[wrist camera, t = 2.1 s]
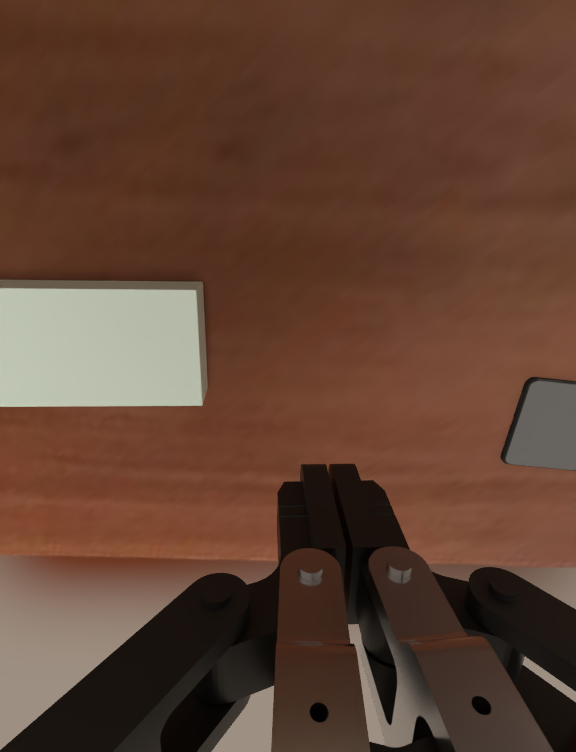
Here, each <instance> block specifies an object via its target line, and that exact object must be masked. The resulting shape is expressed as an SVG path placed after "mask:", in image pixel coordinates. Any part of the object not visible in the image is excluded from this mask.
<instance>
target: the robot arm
mask: <svg viewBox="0 0 576 752" xmlns="http://www.w3.org/2000/svg"><path fill="white" fill-rule="evenodd" d="M277 542H278V567H277V569H276V570H275V571H274V572H273V573H272V574H271V575H269V576H268V577H267V578H265V579H263V580H261V581H258V582H255V583H252V584H249V585H246V584H245V582H243V580H241V579H240V578H238V577H237V576H235V575H232V574H227V573H215V574H210V575H207V576H204V577H202V578H200V579H198V580H197V581H195V582H194V583H193V584H192V585H190V586H189V587H188V588H187V589H186V590H185V591H184V592H183V593H181V594H180V595H179V596H178V597H177V598H175V599H174V600H173V601H172V602H171V603H170V604H169V605H167V606H166V607H165V608H164V609H163V610H162V611H161V612H159V613H158V614H157V615H156V616H155V617H154V618H152V619H151V620H150V621H149V622H148V623H147V624H146V625H144V626H143V627H142V628H141V629H140V630H139V631H137V632H136V633H135V634H134V635H133V636H132V637H130V638H129V639H128V640H127V641H126V642H125V643H124V644H123V645H121V646H120V647H119V648H118V649H117V650H116V651H114V652H113V653H112V654H111V655H110V656H109V657H107V658H106V659H105V660H104V661H103V662H102V663H100V664H99V665H98V666H97V667H96V668H95V669H94V670H93V671H91V672H90V673H89V674H88V675H87V676H85V677H84V678H83V679H82V680H81V681H80V682H79V683H77V684H76V685H75V686H74V687H73V688H72V689H71V690H69V691H68V692H67V693H66V694H65V695H63V697H61V698H60V699H59V700H58V701H57V702H55V703H54V704H53V705H52V706H51V707H50V708H48V709H47V710H46V711H45V712H44V713H43V714H42V715H41V716H39V717H38V718H37V719H36V720H35V721H33V722H32V723H31V724H30V725H29V726H28V727H27V728H26V729H24V730H23V731H22V732H21V733H20V734H18V735H17V736H16V737H15V738H14V739H13V740H12V741H11V742H9V743H8V744H7V745H6V746H5V747H3V748H2V749H1V750H0V752H211V751H212V750H213V749H214V747H215V746H216V745H217V743H218V742H219V741H220V739H221V738H222V737H223V735H224V734H225V733H226V731H227V730H228V729H229V727H230V726H231V725H232V723H233V722H234V721H235V719H236V718H237V717H238V716H239V714H240V713H241V711H242V710H243V709H244V708H245V706H246V705H247V703H248V701H249V698H250V695H251V694H254V693H256V692H259V691H261V690H264V689H266V688H268V687H271V686H273V685H274V703H273V727H272V749H271V752H576V702H574V701H573V700H571V699H570V698H569V697H567V696H566V695H564V694H563V693H562V692H560V691H559V690H557V689H556V688H555V687H553V686H552V685H550V684H549V683H548V682H546V681H545V680H543V679H542V678H541V677H539V676H538V675H536V674H535V673H534V672H532V671H531V670H529V669H528V668H527V667H525V666H524V665H522V664H523V660H524V657H525V656H526V657H527V658H529V659H530V660H531V661H533V662H534V663H536V664H537V665H539V666H540V667H542V668H543V669H544V670H546V671H547V672H549V673H550V674H551V675H553V676H554V677H556V678H557V679H559V680H560V681H562V682H563V683H564V684H566V685H567V686H569V687H570V688H572V689H573V690H574V691H576V609H574V608H572V607H570V606H569V605H567V604H565V603H564V602H562V601H560V600H558V599H557V598H555V597H553V596H552V595H550V594H548V593H546V592H545V591H543V590H541V589H540V588H538V587H536V586H534V585H533V584H531V583H529V582H528V581H526V580H524V579H522V578H520V577H519V576H517V575H515V574H513V573H511V572H509V571H506V570H503V569H500V568H495V567H484V568H480V569H477V570H475V571H474V572H473V573H472V574H471V575H470V578H469V582H467V581H462V580H458V579H454V578H449V577H445V576H442V575H439V574H436V573H434V572H432V571H431V570H430V568H429V566H428V565H427V563H426V562H425V560H424V559H423V558H422V557H420V556H419V555H418V554H416V553H415V552H413V551H411V550H410V549H409V546H408V544H407V542H406V539H405V537H404V535H403V532H402V530H401V528H400V525H399V523H398V521H397V519H396V516H395V515H394V512H393V509H392V507H391V505H390V502H389V500H388V498H387V495H386V493H385V491H384V490H383V489H382V488H381V487H380V486H379V485H378V484H377V483H375V482H374V481H373V480H368V481H361V479H360V477H359V474H358V471H357V468H356V466H355V464H330V465H329V472H328V471H327V467H326V464H302V465H301V471H300V482H284V483H283V485H282V486H281V488H280V490H279V491H278V509H277ZM348 624H359V627H360V632H361V641H360V656H361V660H362V663H363V667H364V670H365V674H366V677H367V680H368V684H369V688H370V691H371V694H372V698H373V701H374V705H375V708H376V712H377V715H378V719H379V722H380V725H381V729H382V732H383V736H384V741H385V746H384V745H380V744H376V743H372V742H369V738H368V731H367V724H366V717H365V709H364V702H363V695H362V687H361V680H360V674H359V665H358V658H357V652H356V648H355V645H354V644H351V643H350V638H349V630H348Z"/></svg>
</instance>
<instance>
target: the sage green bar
mask: <svg viewBox="0 0 576 752" xmlns="http://www.w3.org/2000/svg"><path fill="white" fill-rule="evenodd" d="M207 389H208V378H207V357H206V336H205V315H204V294H203V282H184V281H85V280H0V407H31V406H202V405H203V402H204V398H205V395H206V392H207Z"/></svg>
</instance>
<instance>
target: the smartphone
mask: <svg viewBox="0 0 576 752" xmlns="http://www.w3.org/2000/svg"><path fill="white" fill-rule="evenodd" d="M514 417H515V419H514V422H513V425H511V426H510V429H509V432H508V436H507V438H508V439H506V440H507V441H506V443H505V444H506V445H504V446H505V447H503V450H502V453H501V459H502V461H503V462H504V463H506V464H510V465H521V466H531V467H542V468H553V469H563V470H574V471H576V382H575V381H566V380H557V379H548V378H539V377H532V378H530V379H528V380H527V381H526V382H525V384H524V387H523V390H522V393H521V396H520V399H519V402H518V405H517V408H516V411H515V414H514Z"/></svg>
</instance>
